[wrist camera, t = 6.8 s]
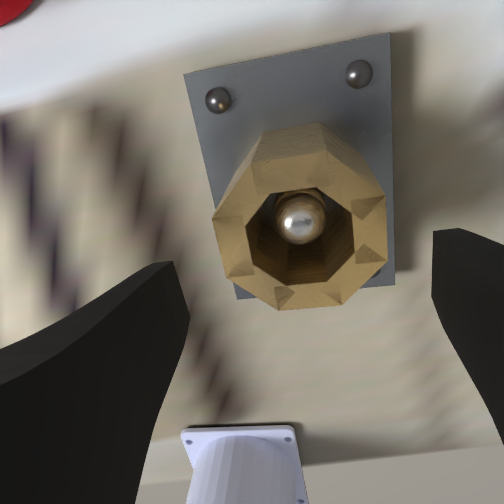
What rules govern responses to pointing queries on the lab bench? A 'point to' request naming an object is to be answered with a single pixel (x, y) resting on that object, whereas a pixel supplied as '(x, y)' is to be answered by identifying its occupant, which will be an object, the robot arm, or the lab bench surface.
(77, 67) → the lab bench surface
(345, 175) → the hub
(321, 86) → the block
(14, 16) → the alarm clock
